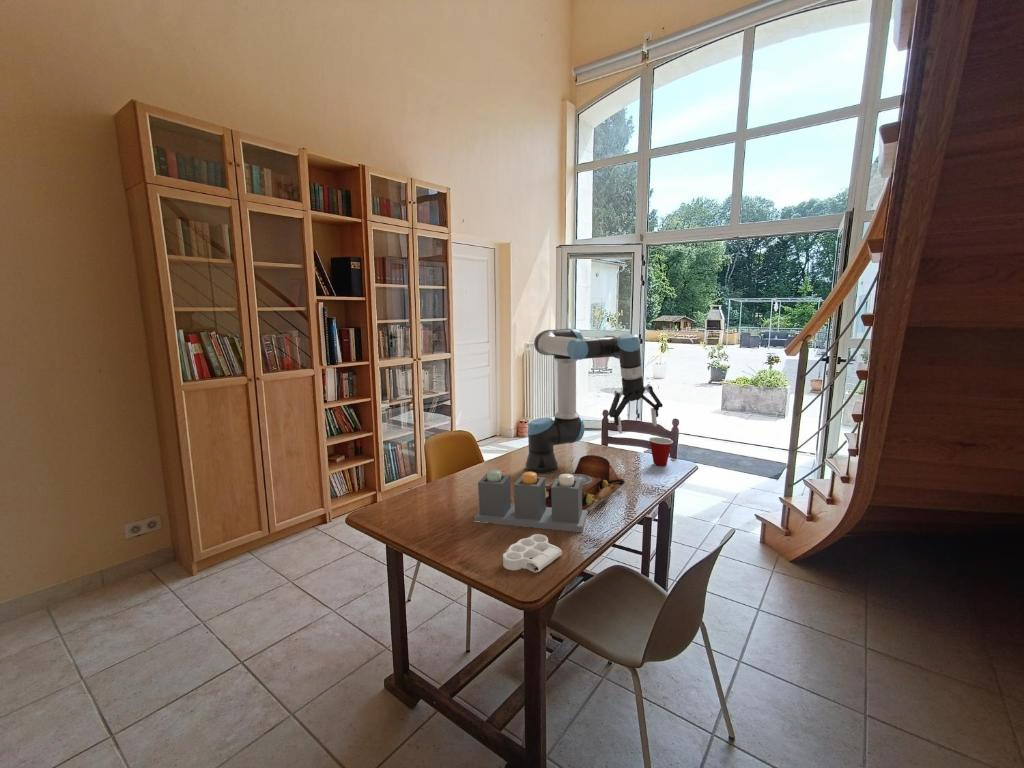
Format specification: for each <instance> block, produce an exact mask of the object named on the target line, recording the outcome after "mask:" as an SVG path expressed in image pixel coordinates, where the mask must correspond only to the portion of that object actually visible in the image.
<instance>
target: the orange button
mask: <svg viewBox="0 0 1024 768" xmlns="http://www.w3.org/2000/svg"><path fill="white" fill-rule="evenodd" d="M537 474H538V473H535V472H529V471H525V472H523V473H522V474H521V476H522V481H523V484H535V485H536V484H537V477H538V475H537Z"/></svg>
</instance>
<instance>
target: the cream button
mask: <svg viewBox="0 0 1024 768" xmlns="http://www.w3.org/2000/svg"><path fill="white" fill-rule="evenodd" d="M572 474H573V473H572ZM572 474H570V473H562V474H559V476H558V478H559V486H566V487H574V475H572Z"/></svg>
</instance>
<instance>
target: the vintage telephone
mask: <svg viewBox="0 0 1024 768" xmlns="http://www.w3.org/2000/svg"><path fill="white" fill-rule="evenodd" d="M569 474H572V475H574V479H581V480H582V510H586V509H588V508H589V507H591V505H593V503H598V502H599V501H600V500H603V499H606V498H608V497H609V496H610V495H611V494H612V493H613V491H614V492H615V491H616V490H617V489H618V488H620V487H621V486H622V485H624V482H625V479H624V478H621V477H619V476H618V474H617V472H616V471H615V469H614V468H613V466H612V465H611V464H610V460H608V459H607V458H605V457H602V456H599V455H596V454H588V455H583V456H581V457H580V458H579V460H578V463H577V466H576V468H575V469H574V472H573V473H569ZM553 483H554V482H552V483H550V484H548V485H545V493H547V494H548V496H546V506H547V505H548V506H547V507H551V508H552V500H551V487H552V485H553ZM620 485H621V486H620ZM619 486H620V487H619Z"/></svg>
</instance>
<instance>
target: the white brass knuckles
mask: <svg viewBox="0 0 1024 768" xmlns="http://www.w3.org/2000/svg"><path fill="white" fill-rule="evenodd" d="M505 551H506V552H504V553H503V554H502V565H503V567H504V568H505V569H507V570H509V571H518V570H521V568H522V569H527V570H529V571H530V572H533V573H539V572H541V571H542V570H543V569H544V568H545V567H547V566H548V565H550V564H552V563H553V562H554V561H555V560H556V559H558V558H559V557H561V556H562V555H563V551H562V549H561V548H560V547H558V546H556V545H554V544H551V543H550V542H549V538H548V537H547V535H545V534H538V533H537V534H532V535H531V536H529V537H527V538H525V537H524V538H521V539H518V540H517V542H516V543H513V544H510V546H509V547H508V549H505ZM529 558H532V559H529ZM534 568H535V569H534ZM536 568H537V569H538V570H537V569H536ZM535 570H536V571H535Z"/></svg>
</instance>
